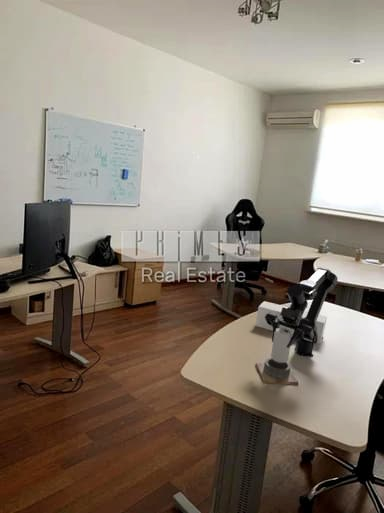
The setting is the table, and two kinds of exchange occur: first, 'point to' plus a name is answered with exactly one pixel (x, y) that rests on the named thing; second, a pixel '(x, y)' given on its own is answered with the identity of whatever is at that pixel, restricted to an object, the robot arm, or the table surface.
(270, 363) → the can holder
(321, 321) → the white foam block
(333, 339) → the table surface
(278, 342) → the beverage can
